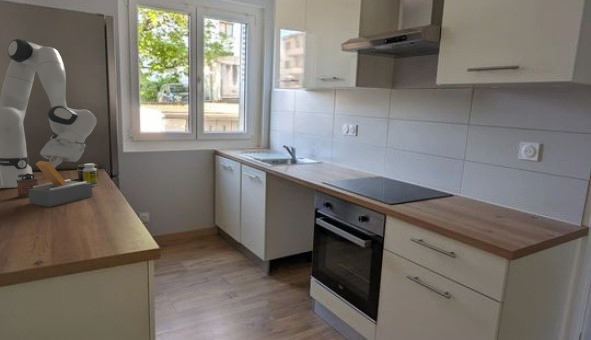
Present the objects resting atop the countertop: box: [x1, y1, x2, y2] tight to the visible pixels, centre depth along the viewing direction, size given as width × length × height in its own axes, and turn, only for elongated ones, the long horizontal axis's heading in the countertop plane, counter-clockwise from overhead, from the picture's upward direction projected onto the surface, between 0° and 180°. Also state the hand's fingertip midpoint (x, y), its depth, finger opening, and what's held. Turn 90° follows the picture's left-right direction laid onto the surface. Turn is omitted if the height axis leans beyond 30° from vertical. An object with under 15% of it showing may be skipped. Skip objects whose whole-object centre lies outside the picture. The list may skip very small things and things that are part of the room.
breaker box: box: [28, 178, 93, 208], centre depth 165 cm, size 12×20×7 cm, turn 158°
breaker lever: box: [35, 160, 66, 186], centre depth 160 cm, size 6×2×12 cm
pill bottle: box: [82, 162, 98, 187], centre depth 194 cm, size 6×6×11 cm
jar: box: [76, 163, 99, 181], centre depth 211 cm, size 10×10×8 cm
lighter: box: [16, 173, 39, 198], centre depth 172 cm, size 8×3×10 cm, turn 135°
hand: (50, 167), depth 160 cm, fingers closed
